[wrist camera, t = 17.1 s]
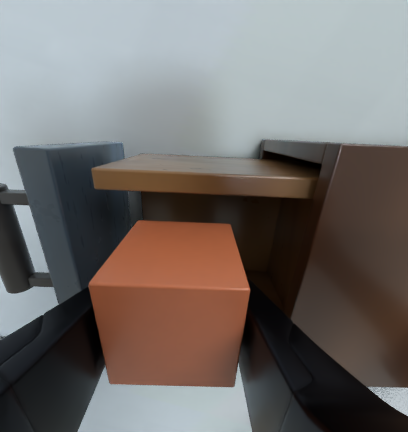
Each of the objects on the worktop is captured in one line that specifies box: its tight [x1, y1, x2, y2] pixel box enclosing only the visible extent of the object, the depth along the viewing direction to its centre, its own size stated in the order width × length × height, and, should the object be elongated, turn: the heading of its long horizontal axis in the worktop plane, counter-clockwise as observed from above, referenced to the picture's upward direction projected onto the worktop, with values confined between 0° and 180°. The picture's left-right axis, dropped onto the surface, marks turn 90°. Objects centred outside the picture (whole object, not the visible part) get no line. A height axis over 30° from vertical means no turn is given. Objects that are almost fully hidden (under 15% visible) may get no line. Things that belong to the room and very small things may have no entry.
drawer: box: [0, 142, 321, 312], centre depth 12 cm, size 17×10×7 cm, turn 87°
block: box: [88, 220, 250, 387], centre depth 8 cm, size 4×4×4 cm
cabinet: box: [259, 139, 408, 388], centre depth 12 cm, size 13×11×8 cm
